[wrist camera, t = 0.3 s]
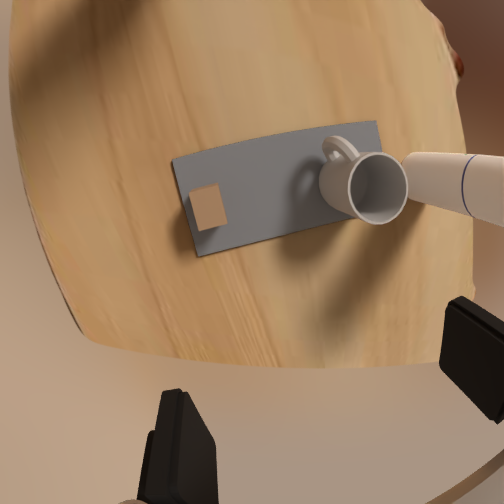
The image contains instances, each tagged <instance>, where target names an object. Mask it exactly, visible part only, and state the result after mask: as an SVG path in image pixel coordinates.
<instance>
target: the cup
mask: <svg viewBox="0 0 504 504" xmlns="http://www.w3.org/2000/svg"><path fill="white" fill-rule="evenodd" d="M322 150H323V153H324V155H325V157H326V159H327V162H326V163H325V164H324V165H323V167H322V169H321V171H320V175H319V189H320V193H321V195H322V197H323V198H324V200H325V201H326V202H327V203H328V204H329V205H330V206H332V207H333V208H335V209H337V210H339V211H341V212H344V213H346V214H349V215H351V216H353V217H356V218H358V219H360V220H363V221H365V222H368V223H371V224H384V223H387V222H390V221H391V220H393V219H394V218H396V217H397V216H398V215H399V213H400V212H401V211H402V209H403V207H404V205H405V203H406V200H407V196H408V181H407V176H406V173H405V171H404V168H403V167H402V166H401V164H400V163H399V161H397V160H396V159H395V158H394V157H393V156H391V155H389V154H386V153H382V152H358V151H357V150H356V148H355V147H354V146H353V145H352V144H351V143H350V142H348V141H347V140H346V139H344V138H342V137H340V136H330V137H326V138H325V139H324V141H323V143H322ZM338 152H339V153H340V154H339V153H338Z"/></svg>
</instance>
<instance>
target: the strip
mask: <svg viewBox="0 0 504 504" xmlns="http://www.w3.org/2000/svg"><path fill="white" fill-rule="evenodd" d="M330 136H340V137H342V138H344V139H346V140H347V141H348V142H350V143H351V144H352V145H353V146H354V147H355V148H356V150H357V151H358V152H382V148H381V142H380V137H379V132H378V127H377V122H376V121H365V122H356V123H347V124H339V125H332V126H324V127H318V128H311V129H305V130H299V131H293V132H287V133H282V134H276V135H271V136H266V137H261V138H256V139H251V140H247V141H242V142H238V143H233V144H229V145H225V146H221V147H217V148H213V149H209V150H205V151H201V152H197V153H194V154H190V155H186V156H183V157H179V158H176V159H172V162H173V166H174V170H175V174H176V178H177V182H178V185H179V189H180V193H181V197H182V201H183V204H184V208H185V212H186V215H187V219H188V222H189V226H190V229H191V233H192V237H193V240H194V243H195V247H196V250H197V254H198V257H199V256H202V255H206V254H210V253H214V252H218V251H222V250H226V249H230V248H234V247H238V246H242V245H245V244H249V243H253V242H257V241H261V240H265V239H269V238H273V237H277V236H281V235H285V234H289V233H293V232H297V231H301V230H305V229H309V228H313V227H317V226H321V225H325V224H329V223H333V222H337V221H341V220H346V219H350V218H354V217H353V216H351V215H349V214H346V213H344V212H341V211H339V210H337V209H335V208H333V207H332V206H330V205H329V204H328V203H327V202H326V201H325V200H324V198H323V197H322V195H321V193H320V189H319V175H320V171H321V169H322V167H323V165H324V164H325V163H326V162H327V159H326V157H325V155H324V153H323V150H322V143H323V141H324V139H325V138H326V137H330ZM338 153H339V152H338ZM339 154H340V153H339Z"/></svg>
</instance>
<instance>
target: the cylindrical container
mask: <svg viewBox="0 0 504 504" xmlns="http://www.w3.org/2000/svg"><path fill="white" fill-rule="evenodd" d="M401 166H402V167H403V168H404V171H405V173H406V176H407V181H408V196H407V197H408V198H409V199H411V200H414V201H417V202H421V203H425V204H429V205H433V206H436V207H440V208H443V209H447V210H451V211H454V212H458V213H461V214H464V215H468V216H471V217H474V218H477V219H481V220H484V221H487V222H490V223H493V224H496V225H499V226H502V227H504V157H499V156H489V155H476V154H475V155H474V154H459V153H435V152H413V153H410V154H409V155H407V156H406V157H405V158H404V160H403V161H402V163H401Z"/></svg>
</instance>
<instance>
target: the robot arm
mask: <svg viewBox="0 0 504 504" xmlns="http://www.w3.org/2000/svg"><path fill="white" fill-rule="evenodd" d="M439 366H440V368H441V370H442V371H443V372H444V373H445V374H446V375H447V376H448V377H449V378H450V379H451V380H452V381H453V382H454V383H455V384H456V385H457V386H458V387H459V388H460V389H461V390H462V391H463V392H464V394H465V395H466V396H468V398H470V400H471V401H472V402H473V403H474V404H475V405H476V406H477V407H478V408H479V409H480V410H481V411H482V412H483V413H484V414H485V416H486V417H487V418H488V419H489V420H494V421H495V423H496V424H499V423H500V422H501V421H502V420H504V322H503V321H502V320H500V319H499V318H497V317H496V316H494V315H492V314H491V313H489V312H488V311H486V310H485V309H483V308H482V307H480V306H478V305H477V304H475V303H473V302H472V301H470V300H469V299H467V298H465V297H464V296H459V297H457V298H455V299H453V300H451V301H450V302H449V303H448V306H447V308H446V310H445V320H444V330H443V338H442V346H441V353H440V359H439ZM120 504H219V501H218V484H217V461H216V445H215V441H214V439H213V437H212V435H211V434H210V432H209V430H208V429H207V427H206V425H205V424H204V421H203V420H202V418H201V416H200V414H199V412H198V411H197V409H196V407H195V405H194V403H193V401H192V399H191V397H190V395H189V394H188V392H182V390H181V389H179V388H178V389H173V390H166V391H163V392H162V395H161V400H160V405H159V410H158V415H157V421H156V426H155V430H152V431H150V432H149V434H148V437H147V442H146V447H145V453H144V459H143V464H142V470H141V476H140V481H139V488H138V494H137V500H126V501H124V502H121V503H120ZM426 504H504V449H503V450H502V451H501V452H500V453H499V454H497V455H496V456H495V457H494V458H493V459H491V460H490V461H489V462H488V463H487V464H485V465H484V466H482V467H481V468H480V469H478V470H477V471H476V472H474V473H473V474H472V475H470V476H469V477H467V478H466V479H465V480H463V481H461V482H460V483H458V484H457V485H455V486H454V487H452V488H451V489H449V490H448V491H446V492H444V493H443V494H441V495H439V496H438V497H436V498H435V499H433V500H431V501H429V502H427V503H426Z"/></svg>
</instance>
